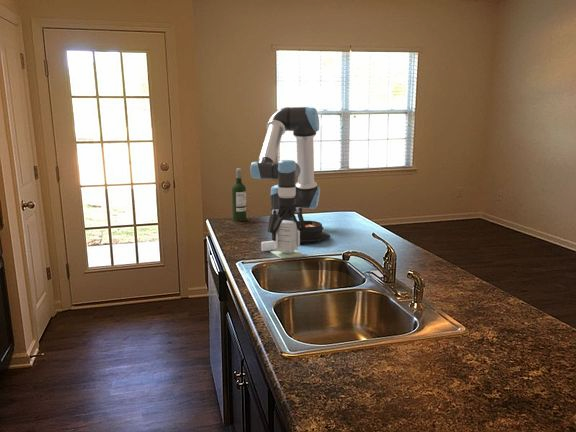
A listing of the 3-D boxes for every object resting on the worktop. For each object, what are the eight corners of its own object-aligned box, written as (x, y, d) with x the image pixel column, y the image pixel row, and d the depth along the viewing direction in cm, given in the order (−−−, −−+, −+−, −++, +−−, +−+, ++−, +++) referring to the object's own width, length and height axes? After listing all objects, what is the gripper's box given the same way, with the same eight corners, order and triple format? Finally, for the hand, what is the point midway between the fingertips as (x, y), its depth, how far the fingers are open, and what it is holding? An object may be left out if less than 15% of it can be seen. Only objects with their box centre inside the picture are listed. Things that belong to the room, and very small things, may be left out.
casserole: (319, 233, 249) (320, 217, 247) (337, 242, 232) (338, 225, 230) (275, 238, 239) (275, 222, 237) (290, 247, 222) (290, 230, 220)
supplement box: (282, 247, 217) (282, 219, 214) (297, 248, 214) (297, 221, 211) (275, 251, 210) (275, 223, 207) (291, 253, 207) (291, 224, 205)
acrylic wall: (293, 246, 224) (293, 238, 223) (294, 247, 223) (294, 238, 222) (261, 250, 217) (261, 242, 216) (262, 251, 216) (262, 242, 215)
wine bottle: (239, 222, 274) (238, 169, 268) (229, 220, 279) (228, 168, 273) (249, 219, 280) (248, 168, 274) (239, 218, 285) (238, 167, 279)
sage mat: (292, 249, 220) (292, 248, 219) (303, 255, 210) (303, 254, 210) (270, 252, 215) (270, 251, 215) (280, 258, 205) (280, 257, 205)
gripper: (305, 193, 215) (305, 241, 220) (259, 197, 205) (259, 247, 210) (314, 195, 209) (313, 245, 213) (266, 199, 199) (266, 251, 203)
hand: (286, 246), depth 212 cm, fingers closed on supplement box, 10 cm apart
